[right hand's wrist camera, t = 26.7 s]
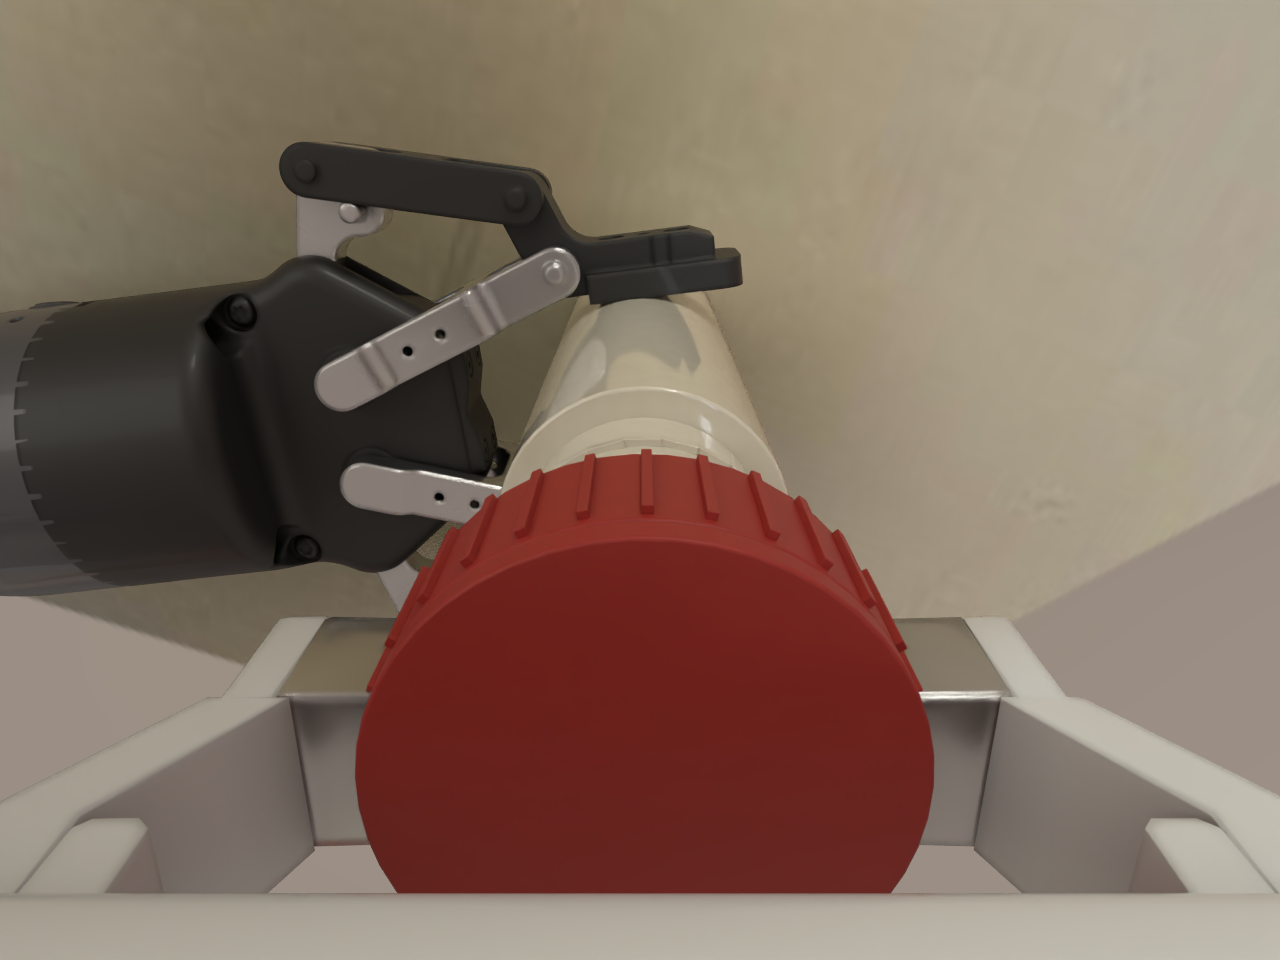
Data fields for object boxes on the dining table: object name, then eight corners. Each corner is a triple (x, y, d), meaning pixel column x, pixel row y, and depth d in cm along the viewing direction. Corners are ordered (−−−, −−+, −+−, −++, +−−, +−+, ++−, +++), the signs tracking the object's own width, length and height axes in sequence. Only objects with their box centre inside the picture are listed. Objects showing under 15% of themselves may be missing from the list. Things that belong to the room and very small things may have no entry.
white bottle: (566, 259, 29) (463, 423, 12) (715, 257, 29) (820, 417, 12) (573, 404, 30) (491, 723, 14) (714, 401, 30) (803, 718, 14)
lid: (319, 530, 10) (239, 631, 8) (825, 378, 9) (875, 447, 7) (502, 903, 11) (474, 1058, 10) (929, 799, 11) (989, 942, 9)
